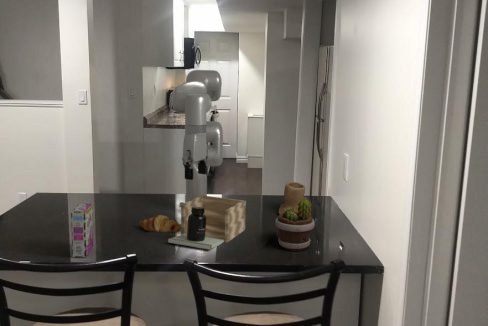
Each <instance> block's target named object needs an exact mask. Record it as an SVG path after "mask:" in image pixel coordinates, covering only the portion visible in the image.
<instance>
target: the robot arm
mask: <svg viewBox="0 0 488 326" xmlns="http://www.w3.org/2000/svg"><path fill="white" fill-rule="evenodd" d="M222 84H223V83H222V77H221V74H220V73H219V71H218V70H215V69H212V70H210V69H208V70H207V69H206V70H205V69H194V70H191V71H190V72H189V73H187V75H186V77H185V82H183V83H182V84H179V85H178V86H176V87H175V88H174V89H173V93H172V98H171V99H172V100H171V105H172V108H173V109H172V110H173V111H174V112H175V113H178V114H184V137H183V145H182V157H181V160H182V165H183V168H184V180H185V202H184V201H180V202H179V207H178V208H181V205H182V204H184V203H186V202H188V201H190V200H193V199H195V198H197V197H199V196H201V195H203V196H208V177H207V167H220V166H221V165H222V164H223V159H224V147H223V146H224V143H223V141H224V139H223V138H224V137H223V136H224V135H223V134H224V132H223V127H222V124H221V123H220V122H219V121H215V120H214V121H213V120H211V121H209V120H207V113H208V112H209V111H210V110H211V109H212V104H213V103H212V102H217V101H219V100H220V98H221V94H222ZM207 143H212V145H211V144H210V145H209V144H208V145H207Z"/></svg>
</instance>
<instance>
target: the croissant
mask: <svg viewBox="0 0 488 326" xmlns="http://www.w3.org/2000/svg"><path fill="white" fill-rule="evenodd" d="M138 222H139V223H138V224H139V226H140V227H142V228H143V229H144V230H145V231H147V232H150V231H153V232H160V233H164V232H165V233H167V232H168V233H169V232H171V233H172V232H173V233H175V232H178V233H179V232H180V233H181V223H179V222H178V221H176V219H174V218H173V219H171V218H169V217H168V216H166V215H163V214H156V216H155V217H153V216H152V217H150V218H149V219H144V220H139V221H138Z"/></svg>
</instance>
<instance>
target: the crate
mask: <svg viewBox="0 0 488 326" xmlns="http://www.w3.org/2000/svg"><path fill="white" fill-rule="evenodd" d="M246 202H247V201H246V200H243V199H234V198H227V197H226V198H225V197H219V196H218V197H217V196H209V195H207V196H203V195H201V196H199V197H197V198H195V199H193V200H190V201H188V202H186V201H185V202H184V204H182V205H181V207H180V224H181V232H180V235H182V234H187V226H188V216H189V215H190V214H192V212H191V209H192V207H203V208H205V209H204V215H205V216H206V232H205V237H209V238H215V239H221V240H224V242H225V243H229V242H230V241H232V240H233V239H235V238H236V237H237V236H239V235H240V234H242V233H243V232H244V231H245V230H246V219H247V218H246V209H247V208H246V207H247V203H246Z"/></svg>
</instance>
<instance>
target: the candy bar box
mask: <svg viewBox="0 0 488 326" xmlns="http://www.w3.org/2000/svg"><path fill="white" fill-rule="evenodd" d="M93 213H94V211H93V203H78V204H77V205H76V206H75V208H74V209H72V210H71V211H70V222H71V223H70V224H71V225H70V226H71V254H72V255H71V256H72V258H75V257H84V258H87V257H88V255H89V254H88V253H90V252H91V251H92V249H93V248H94V225H93V223H94V222H93V221H94V219H93V218H94V217H93V216H94V215H93ZM92 247H93V248H92ZM90 250H91V251H90Z"/></svg>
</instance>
